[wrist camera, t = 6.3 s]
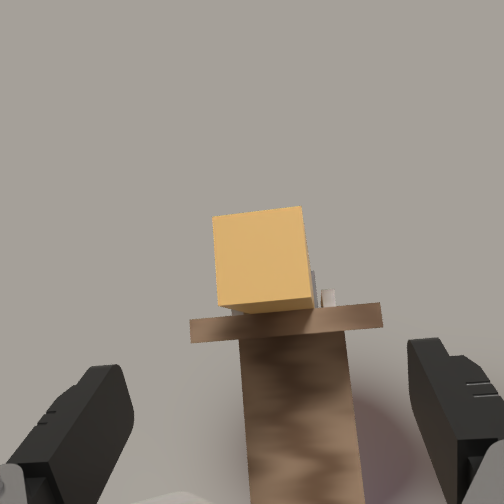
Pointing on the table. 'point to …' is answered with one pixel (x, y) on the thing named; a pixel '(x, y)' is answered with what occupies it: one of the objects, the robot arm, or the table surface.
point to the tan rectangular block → (263, 262)
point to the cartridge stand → (297, 399)
